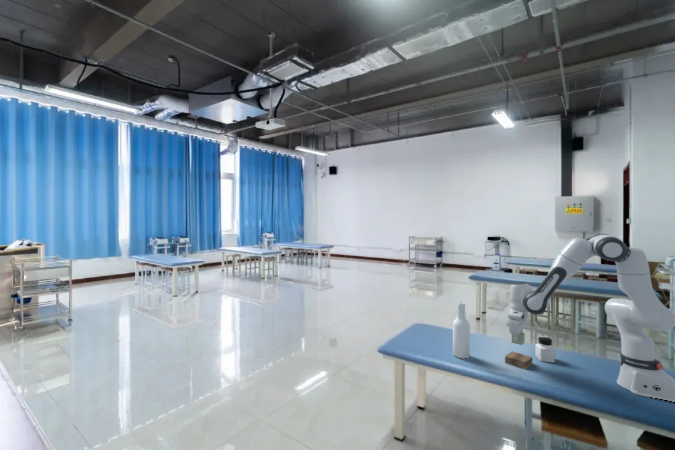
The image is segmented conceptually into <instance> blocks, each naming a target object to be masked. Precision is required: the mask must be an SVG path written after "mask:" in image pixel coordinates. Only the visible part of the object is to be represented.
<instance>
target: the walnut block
mask: <svg viewBox="0 0 675 450" xmlns="http://www.w3.org/2000/svg"><path fill="white" fill-rule="evenodd" d="M504 364H508V365H511V366H513V367H516V368H520V369H524V370H527V369H528V368H530V367H531V366H532V365H533V356H530V355H527V354H523V353H520V352H515V351H513V350H512V351H511V352H509V353H508V354H506V355H505V356H504Z"/></svg>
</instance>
